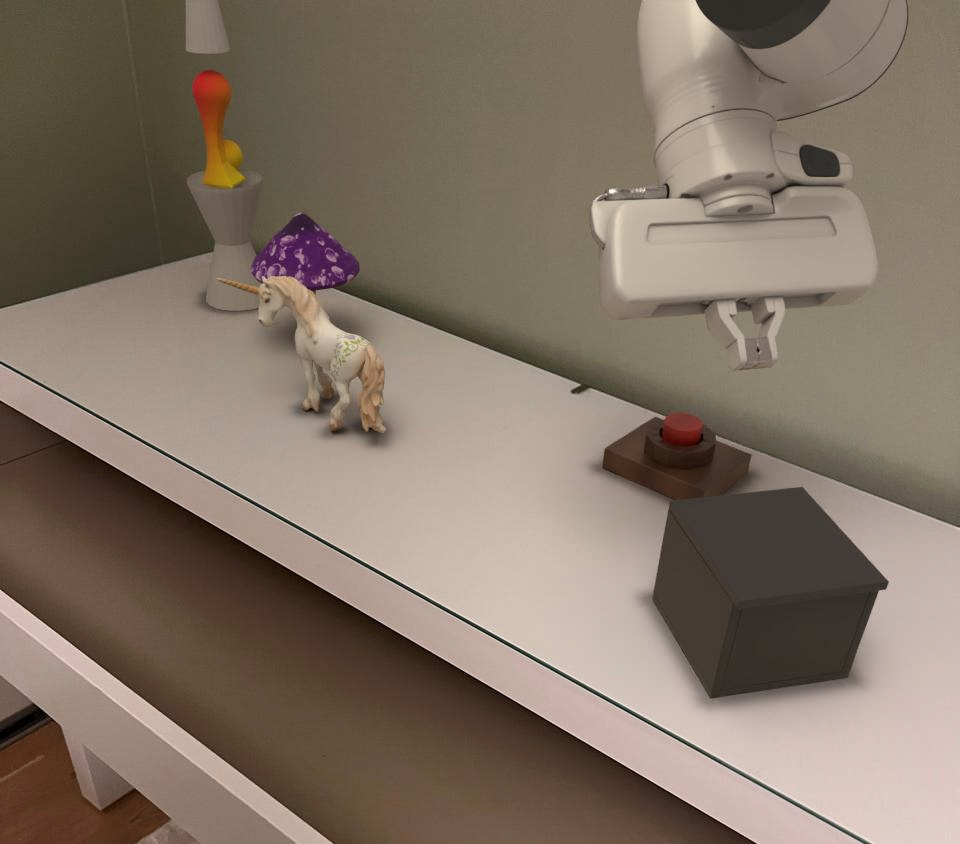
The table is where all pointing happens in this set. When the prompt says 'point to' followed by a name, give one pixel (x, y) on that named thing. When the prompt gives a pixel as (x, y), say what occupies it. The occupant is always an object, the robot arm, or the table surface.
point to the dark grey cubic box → (752, 627)
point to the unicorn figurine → (324, 350)
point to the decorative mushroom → (306, 256)
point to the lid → (775, 547)
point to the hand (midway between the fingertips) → (754, 366)
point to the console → (676, 462)
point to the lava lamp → (222, 170)
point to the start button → (682, 429)
